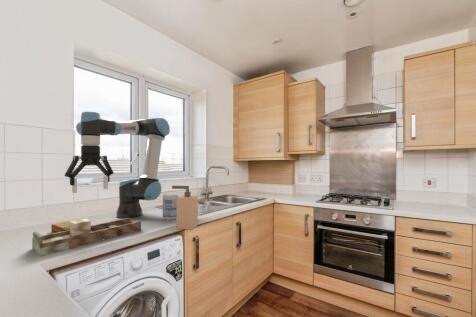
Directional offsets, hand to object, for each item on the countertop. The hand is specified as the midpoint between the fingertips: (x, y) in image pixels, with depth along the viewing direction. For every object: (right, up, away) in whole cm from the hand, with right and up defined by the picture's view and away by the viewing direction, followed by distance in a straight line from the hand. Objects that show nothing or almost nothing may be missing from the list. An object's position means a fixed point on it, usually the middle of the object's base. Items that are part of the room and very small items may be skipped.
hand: (90, 190), depth 108 cm
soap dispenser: (+40, -22, +16) cm, 48 cm away
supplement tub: (+27, -22, +34) cm, 49 cm away
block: (-1, -19, -6) cm, 19 cm away
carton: (-15, -22, +6) cm, 28 cm away
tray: (+2, -22, -2) cm, 22 cm away
